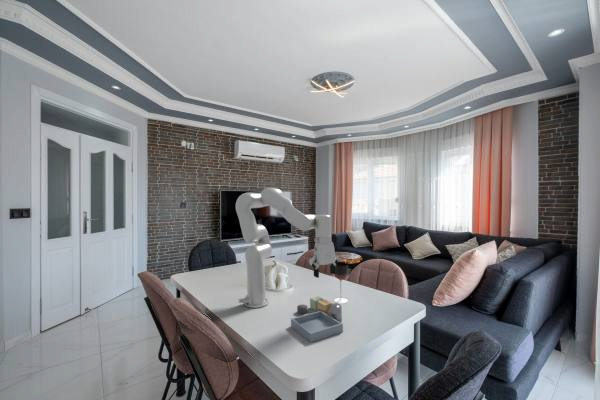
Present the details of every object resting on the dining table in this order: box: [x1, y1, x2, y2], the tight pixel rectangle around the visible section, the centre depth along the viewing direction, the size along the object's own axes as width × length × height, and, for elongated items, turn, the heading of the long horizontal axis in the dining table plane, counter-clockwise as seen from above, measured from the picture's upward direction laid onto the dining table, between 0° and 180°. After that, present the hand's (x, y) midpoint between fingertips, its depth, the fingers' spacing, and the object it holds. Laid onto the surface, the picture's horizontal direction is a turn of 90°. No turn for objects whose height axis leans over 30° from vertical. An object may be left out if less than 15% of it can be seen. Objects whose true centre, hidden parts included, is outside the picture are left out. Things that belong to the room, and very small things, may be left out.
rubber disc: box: [296, 304, 309, 316], centre depth 134 cm, size 5×5×3 cm
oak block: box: [317, 299, 334, 317], centre depth 131 cm, size 4×6×6 cm
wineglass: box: [333, 261, 349, 304], centre depth 149 cm, size 8×9×20 cm
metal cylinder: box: [330, 303, 343, 323], centre depth 124 cm, size 5×5×7 cm
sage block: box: [309, 295, 325, 312], centre depth 139 cm, size 5×5×5 cm
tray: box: [290, 310, 344, 343], centre depth 117 cm, size 16×16×3 cm
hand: (324, 275), depth 132 cm, fingers open, 9 cm apart
